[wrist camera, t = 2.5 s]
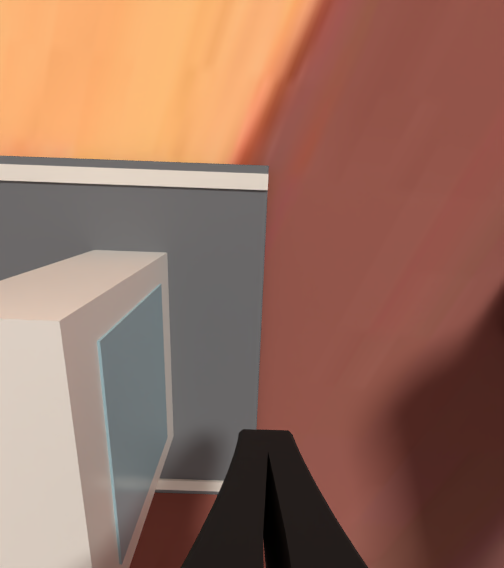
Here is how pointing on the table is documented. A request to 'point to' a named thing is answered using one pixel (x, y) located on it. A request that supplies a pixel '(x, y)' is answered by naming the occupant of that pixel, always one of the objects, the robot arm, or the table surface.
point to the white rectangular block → (83, 407)
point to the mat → (181, 277)
